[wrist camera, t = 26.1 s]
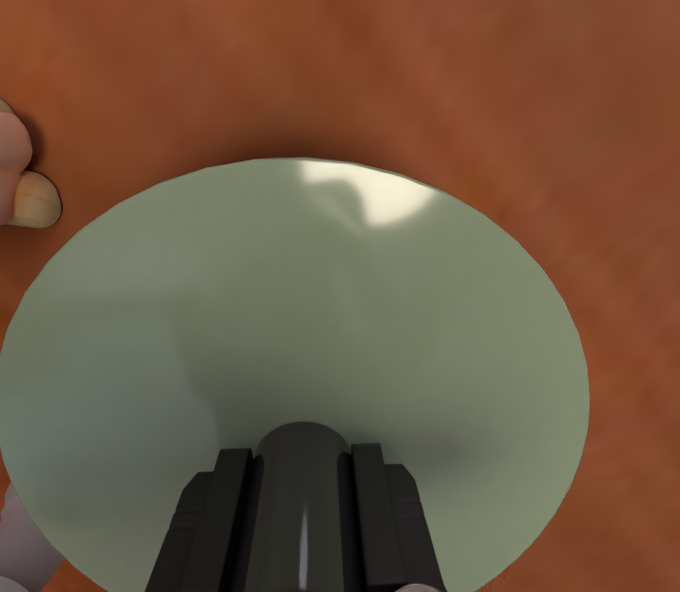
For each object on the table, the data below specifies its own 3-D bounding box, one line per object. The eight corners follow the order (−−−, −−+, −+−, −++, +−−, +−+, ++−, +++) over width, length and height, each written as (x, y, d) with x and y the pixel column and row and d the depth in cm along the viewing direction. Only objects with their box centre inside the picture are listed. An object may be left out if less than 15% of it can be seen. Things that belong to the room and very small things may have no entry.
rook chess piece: (136, 511, 20) (30, 733, 13) (40, 514, 20) (-125, 741, 13) (119, 436, 19) (-13, 639, 11) (14, 438, 18) (-192, 647, 11)
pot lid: (340, 661, 16) (351, 935, 11) (-71, 474, 12) (-397, 761, 7) (673, 392, 12) (962, 604, 7) (235, -14, 8) (67, -306, 3)
